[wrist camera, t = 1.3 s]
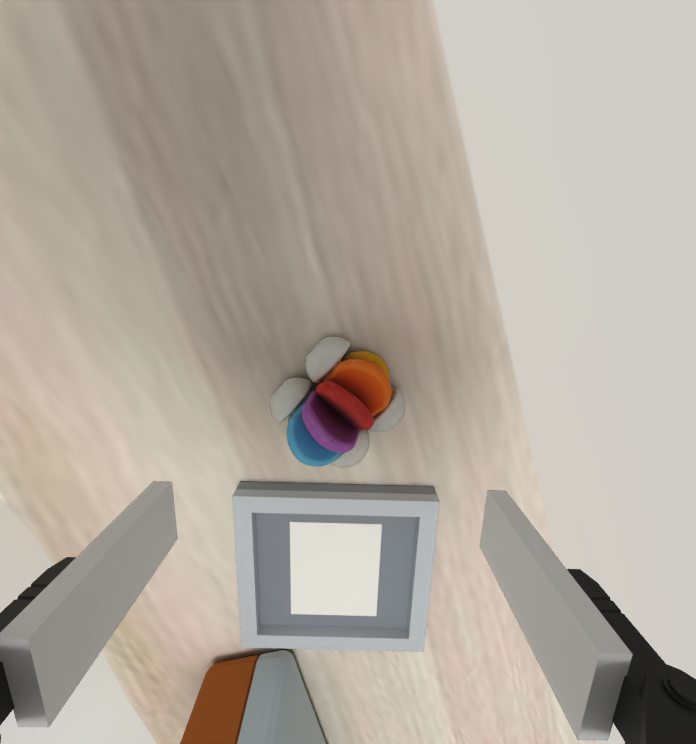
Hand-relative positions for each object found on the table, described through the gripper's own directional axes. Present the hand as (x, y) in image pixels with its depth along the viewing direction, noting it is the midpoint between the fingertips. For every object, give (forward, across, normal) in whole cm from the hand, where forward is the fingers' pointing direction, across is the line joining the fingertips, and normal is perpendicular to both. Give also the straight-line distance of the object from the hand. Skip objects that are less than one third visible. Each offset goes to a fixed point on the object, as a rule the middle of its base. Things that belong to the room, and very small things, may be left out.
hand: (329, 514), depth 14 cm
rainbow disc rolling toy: (+15, 0, 0) cm, 15 cm away
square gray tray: (+15, 0, -16) cm, 21 cm away
